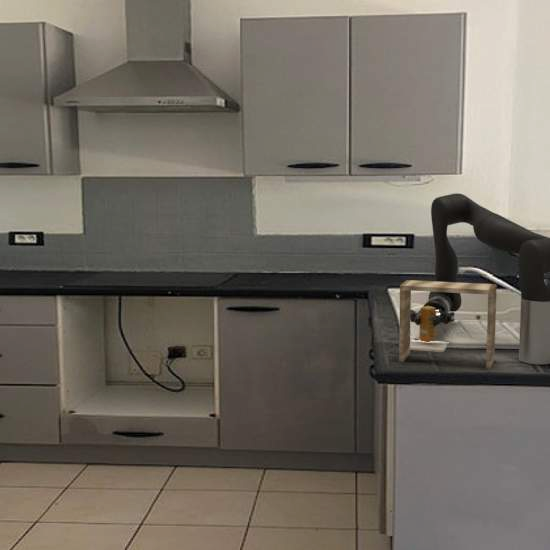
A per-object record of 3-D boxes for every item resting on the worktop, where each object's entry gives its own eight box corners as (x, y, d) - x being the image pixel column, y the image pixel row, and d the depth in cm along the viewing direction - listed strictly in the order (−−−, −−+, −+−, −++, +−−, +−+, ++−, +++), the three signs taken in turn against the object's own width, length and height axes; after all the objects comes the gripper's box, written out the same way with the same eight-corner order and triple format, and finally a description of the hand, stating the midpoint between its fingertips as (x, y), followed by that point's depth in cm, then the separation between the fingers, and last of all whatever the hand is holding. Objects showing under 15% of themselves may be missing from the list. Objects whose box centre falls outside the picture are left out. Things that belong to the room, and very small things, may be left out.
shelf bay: (494, 360, 227) (496, 284, 224) (490, 369, 219) (493, 290, 215) (405, 353, 235) (406, 280, 232) (399, 361, 227) (399, 285, 224)
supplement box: (428, 342, 241) (428, 308, 239) (419, 340, 244) (419, 307, 242) (435, 340, 243) (436, 307, 241) (426, 338, 246) (427, 305, 244)
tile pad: (449, 343, 247) (449, 341, 247) (443, 352, 237) (443, 350, 237) (412, 340, 251) (412, 338, 251) (404, 349, 240) (404, 347, 240)
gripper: (413, 297, 257) (401, 308, 242) (459, 299, 253) (451, 311, 237) (412, 320, 259) (401, 333, 243) (459, 323, 254) (450, 336, 238)
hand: (426, 322), depth 240 cm, fingers closed on supplement box, 4 cm apart
